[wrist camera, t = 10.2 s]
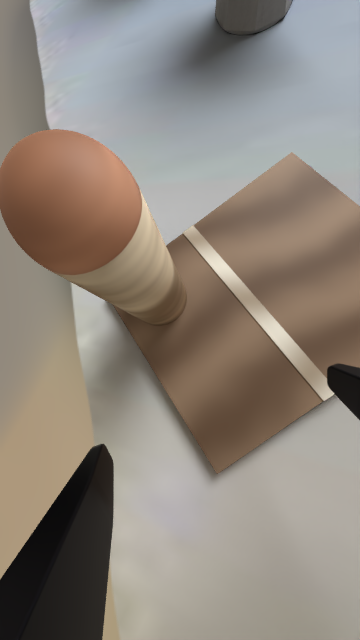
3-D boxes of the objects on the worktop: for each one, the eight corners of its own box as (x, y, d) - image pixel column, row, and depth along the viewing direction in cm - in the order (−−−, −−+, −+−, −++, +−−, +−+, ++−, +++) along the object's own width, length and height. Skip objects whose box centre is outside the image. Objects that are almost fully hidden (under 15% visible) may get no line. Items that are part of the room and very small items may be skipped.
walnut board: (457, 301, 15) (475, 297, 14) (217, 467, 16) (217, 474, 15) (288, 162, 20) (292, 151, 19) (110, 294, 21) (104, 291, 20)
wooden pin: (197, 286, 18) (142, 100, 5) (168, 335, 18) (33, 264, 5) (151, 264, 20) (16, 71, 7) (124, 309, 19) (-78, 199, 6)
